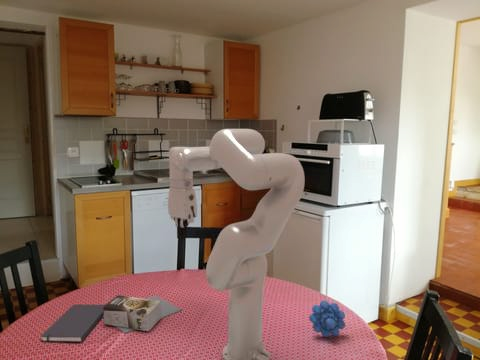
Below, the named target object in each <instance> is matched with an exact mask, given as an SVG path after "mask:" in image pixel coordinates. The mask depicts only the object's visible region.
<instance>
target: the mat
mask: <svg viewBox="0 0 480 360" xmlns="http://www.w3.org/2000/svg"><path fill="white" fill-rule="evenodd" d="M145 299H150V300H157V301H161V319H160V320H162V319H164V318H167V317H170V316H172V315H174V314H177V313H179V312H182V310H183V309H181V308H180V307H178V306H176V305H174V304H173V303H171V302H169V301H167V300H165V299H163V298H161V297H159V296H157V295H156V294H154V295H152V296H149V297H146V298H145ZM102 319H104V315H103V317H102ZM114 327H115V328H117V329H118V330H119V331H121V332H124V333H123V334H129V333H131V332H133V331H136V330H137V329H131V328H125V327H119V326H114Z"/></svg>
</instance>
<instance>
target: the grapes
mask: <svg viewBox="0 0 480 360" xmlns="http://www.w3.org/2000/svg"><path fill="white" fill-rule="evenodd" d="M311 311H312V313H311V314H310V315H308V319H309V321H310V322H311V323H312V329H313V331H314V332H316V333H321V336H322V337H324V338H329V337H330V336H331V335H332V336H334V337H338V336H339V335H340V330H343V329H345V328H346V323H345V320H344V319H345V318H346V314H345V311H344V310H340V307H339V305H338V304H337V303H336V302H331V303H329V301H327V300H321V301H320V303H319V305H318V304H313V306H312V307H311Z"/></svg>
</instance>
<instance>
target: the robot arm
mask: <svg viewBox="0 0 480 360" xmlns="http://www.w3.org/2000/svg"><path fill="white" fill-rule="evenodd" d="M265 148H266V141H265V139H264V137H263V135H262V134H261V133H260V132H258V131H257V130H255V129H252V128H224V129H223V128H222V129H221V130H218V131H216V133H215V134H214V135H213V136H212V139H211V140H210V144H209V146H192V147H191V146H172V147H170V149H169V151H168V153H169V154H168V157H169V160H168V161H169V162H168V163H169V190H168V197H167V199H168V200H167V203H168V205H167V206H168V207H167V209H168V215H169V216H170V219H171V220H173V221H174V223H175V227H176V238H177V239H179V240H183V239H184V240H185V239H187V238H188V227H189V225H190V224H193V223H195V219H196V218H197V216H198V203H197V201H198V200H197V196H196V195H197V194H196V190H195V188H194V187H193V186H194V181H193V178H194V175H193V173H194V172H197V171H211V170H217V169H221V168H222V169H223V170H224V171H225V172H226V173H227V175H229V176H230V178H231V179H232V180H233V181H234V182H235V183H236V184H237V185H238V186H240V187H241V188H242V189H244V190H247V191H259V190H266V189H270V190H269V191H268V192H267V193H266V194H265V195H264V196H263V197H261V199H260V200H259V202H258V203H257V205H256V206H255V207H256V208H255V210H254V211H253V214H252V215H251V216H250V218H248V219H246V220H242V221H238V222H234V223H230V224H228V225H227V226H225V227H223V229H222V230H221V231H220V233H219V234H218V236H217V238H216V241H215V243H214V245H213V248H212V250H211V252H210V255H209V257H208V260H207V264H206V267H205V276H206V280H207V283H208V284H209V287H211V288H212V289H213V290H216V291H219V292H224V291H228V290H229V294H228V322H227V323H228V325H227V328H228V329H227V330H228V331H227V334H228V336H227V340H228V341H227V344H226V345H224V347H223V349H222V354H221V355H222V358H223V360H270V358H271V356H272V354H271V353H270V352H269V351H267V349H266V347H265V343H264V342H263V341H262V340H263V339H262V338H263V337H262V336H263V335H262V334H263V304H264V303H263V301H264V287H265V281H266V277H267V273H268V272H267V271H268V260H267V256H266V254H268V253H270V252H271V251H273V249H274V247H275V246H276V244H277V242H278V240H279V238H280V236H281V235H282V232H283V230H284V229H285V227H286V224H287V223H288V220H289V219H290V217H291V215H292V213H293V212H294V211H295V209H296V207H297V206H298V204H299V202H300V200H301V198H302V196H303V194H304V193H303V192H304V189H305V171H304V168H303V166H302V164H301V162H300V160H299V159H298V158H297V157H296V156H294V155H292V154H289V153H284V152H270V153H269V152H268V153H264V151H265Z"/></svg>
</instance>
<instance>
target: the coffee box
mask: <svg viewBox="0 0 480 360" xmlns="http://www.w3.org/2000/svg"><path fill="white" fill-rule="evenodd" d="M103 305H104V306H103V315H104V318H103V324H104V325H107V326H114V327H115V326H119V327H125V328H131V329H136V330H139V331H144V332H145V331H146V332H150V331H151V330H152V329H153V328H154V327H155V326H156V324H157V323H158V322H159V321H160V320H162V319H161V301H157V300H150V299H146V298H141V297H135V296H134V297H133V296H127V295H126V296H125V295H119V294H118V295H116V296H115V297H114V298H112V299H111V300H109V302H107V303H105V304H103Z"/></svg>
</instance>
